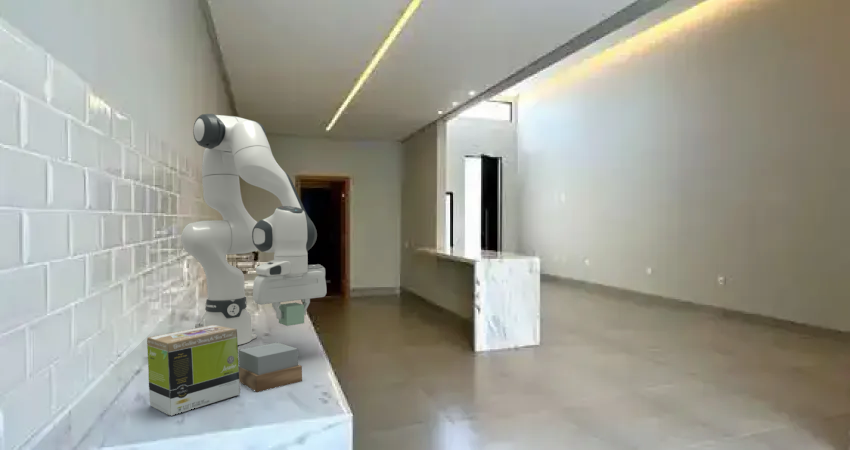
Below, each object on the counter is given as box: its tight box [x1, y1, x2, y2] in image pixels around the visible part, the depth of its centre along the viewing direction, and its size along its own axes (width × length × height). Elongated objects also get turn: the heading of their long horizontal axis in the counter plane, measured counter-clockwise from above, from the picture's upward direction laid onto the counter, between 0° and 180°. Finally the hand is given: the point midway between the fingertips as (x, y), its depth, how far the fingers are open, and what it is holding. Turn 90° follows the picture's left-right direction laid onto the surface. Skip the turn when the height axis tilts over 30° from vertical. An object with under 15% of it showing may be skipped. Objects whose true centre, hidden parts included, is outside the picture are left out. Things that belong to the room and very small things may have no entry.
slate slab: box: [238, 342, 299, 375], centre depth 119 cm, size 10×10×4 cm
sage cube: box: [278, 302, 305, 327], centre depth 136 cm, size 5×5×5 cm
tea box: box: [146, 325, 241, 417], centre depth 106 cm, size 15×10×15 cm, turn 141°
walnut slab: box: [239, 364, 303, 393], centre depth 119 cm, size 11×11×4 cm
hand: (291, 317), depth 136 cm, fingers closed on sage cube, 5 cm apart
